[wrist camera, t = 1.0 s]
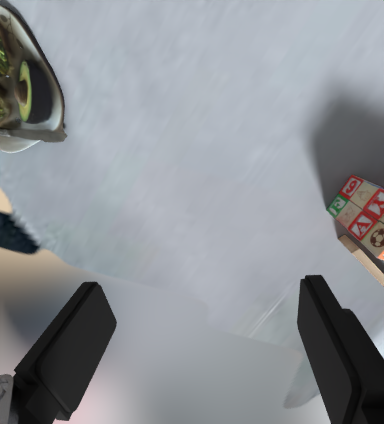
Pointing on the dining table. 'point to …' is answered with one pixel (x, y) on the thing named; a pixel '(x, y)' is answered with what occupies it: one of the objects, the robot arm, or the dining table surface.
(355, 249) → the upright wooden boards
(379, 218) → the stack of blocks
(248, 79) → the dining table surface
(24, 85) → the salad plate
